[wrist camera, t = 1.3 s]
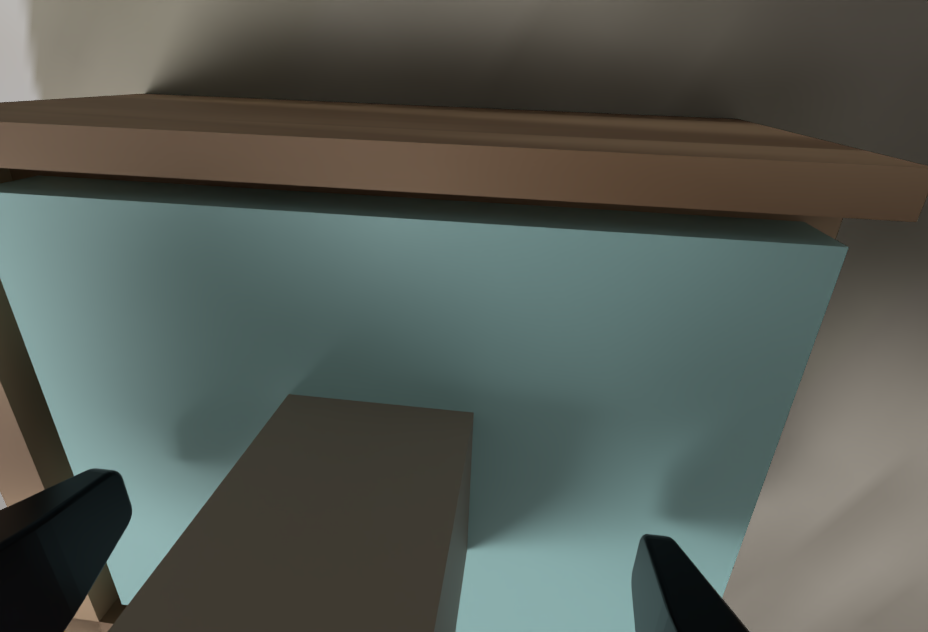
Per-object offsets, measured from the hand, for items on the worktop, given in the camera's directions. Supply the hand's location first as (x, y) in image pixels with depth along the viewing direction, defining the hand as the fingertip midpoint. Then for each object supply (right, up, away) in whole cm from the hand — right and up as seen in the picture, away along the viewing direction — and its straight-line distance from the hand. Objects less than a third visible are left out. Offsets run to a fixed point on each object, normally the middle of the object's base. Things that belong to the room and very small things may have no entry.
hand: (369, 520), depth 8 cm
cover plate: (0, +1, +2) cm, 2 cm away
